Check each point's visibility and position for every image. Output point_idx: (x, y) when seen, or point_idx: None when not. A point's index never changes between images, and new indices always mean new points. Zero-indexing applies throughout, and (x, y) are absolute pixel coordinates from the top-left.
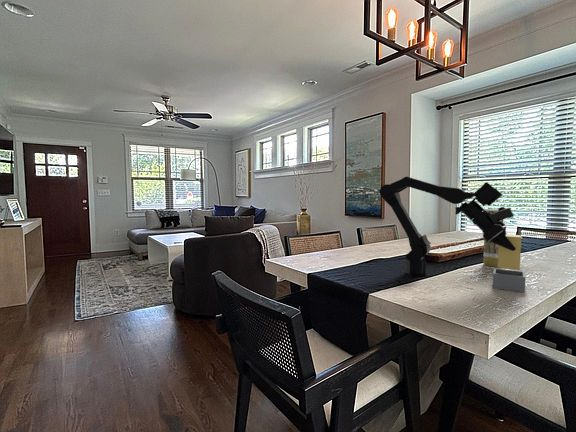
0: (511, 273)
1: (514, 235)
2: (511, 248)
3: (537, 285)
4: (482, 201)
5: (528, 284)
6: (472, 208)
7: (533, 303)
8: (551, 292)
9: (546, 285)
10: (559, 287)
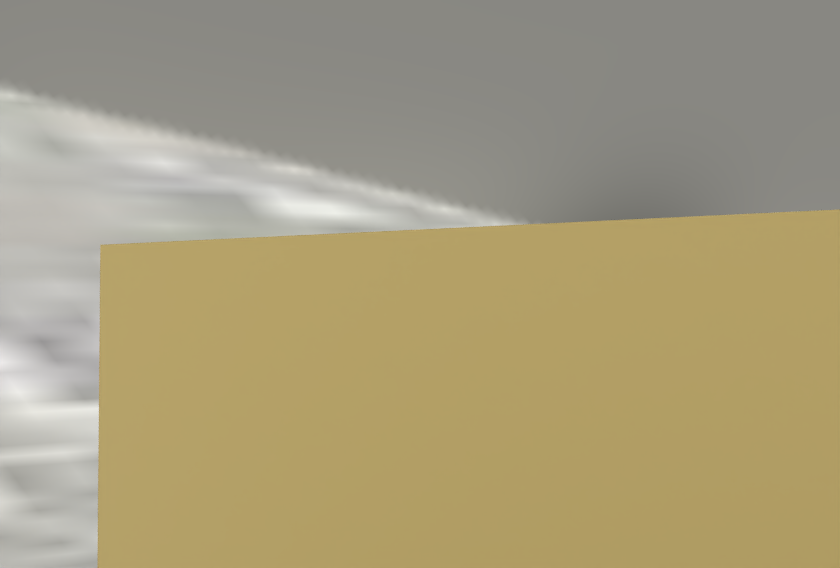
0: None
1: (452, 513)
2: None
3: (76, 299)
4: None
5: (83, 384)
6: None
7: None
8: (321, 187)
9: (15, 219)
10: (39, 115)
